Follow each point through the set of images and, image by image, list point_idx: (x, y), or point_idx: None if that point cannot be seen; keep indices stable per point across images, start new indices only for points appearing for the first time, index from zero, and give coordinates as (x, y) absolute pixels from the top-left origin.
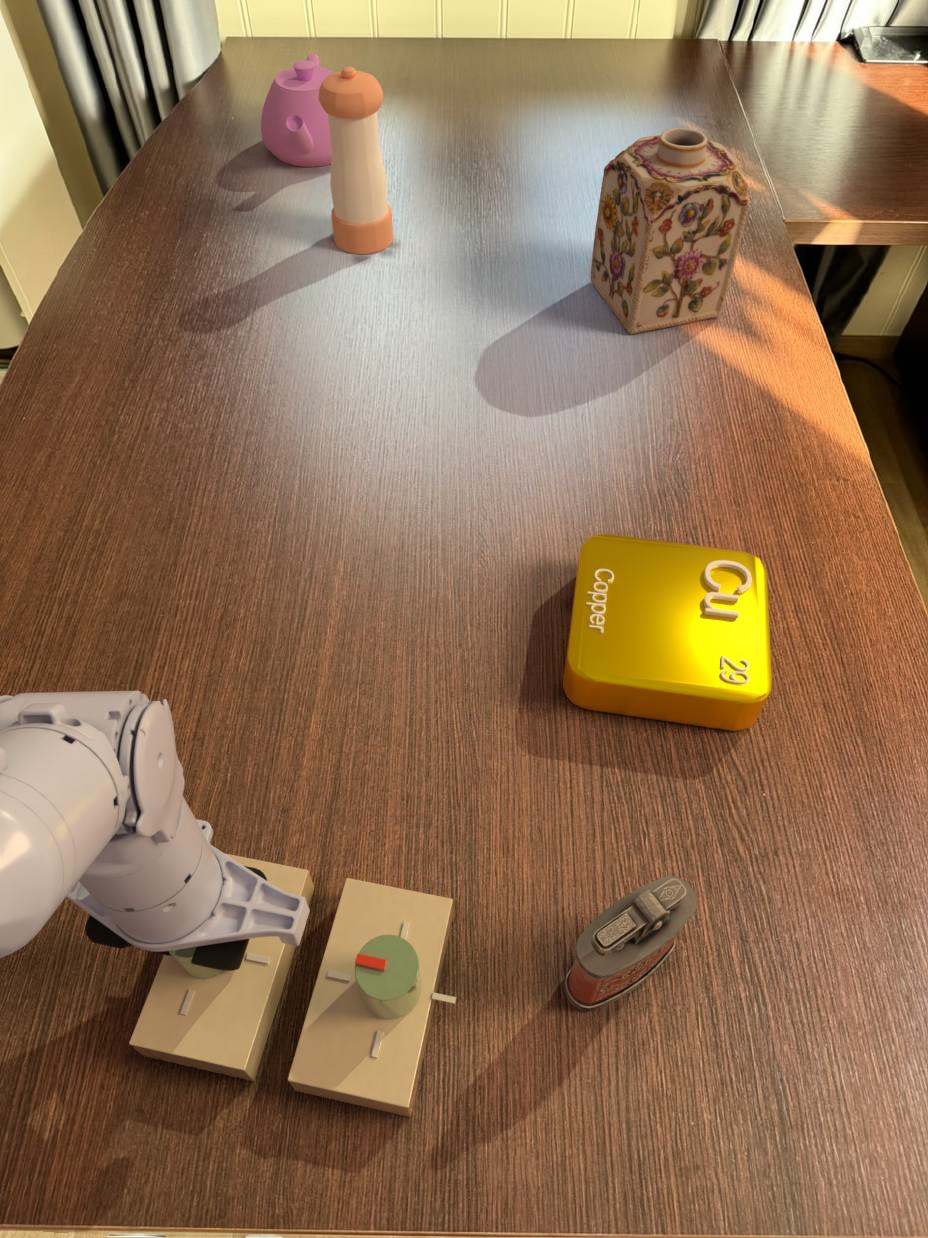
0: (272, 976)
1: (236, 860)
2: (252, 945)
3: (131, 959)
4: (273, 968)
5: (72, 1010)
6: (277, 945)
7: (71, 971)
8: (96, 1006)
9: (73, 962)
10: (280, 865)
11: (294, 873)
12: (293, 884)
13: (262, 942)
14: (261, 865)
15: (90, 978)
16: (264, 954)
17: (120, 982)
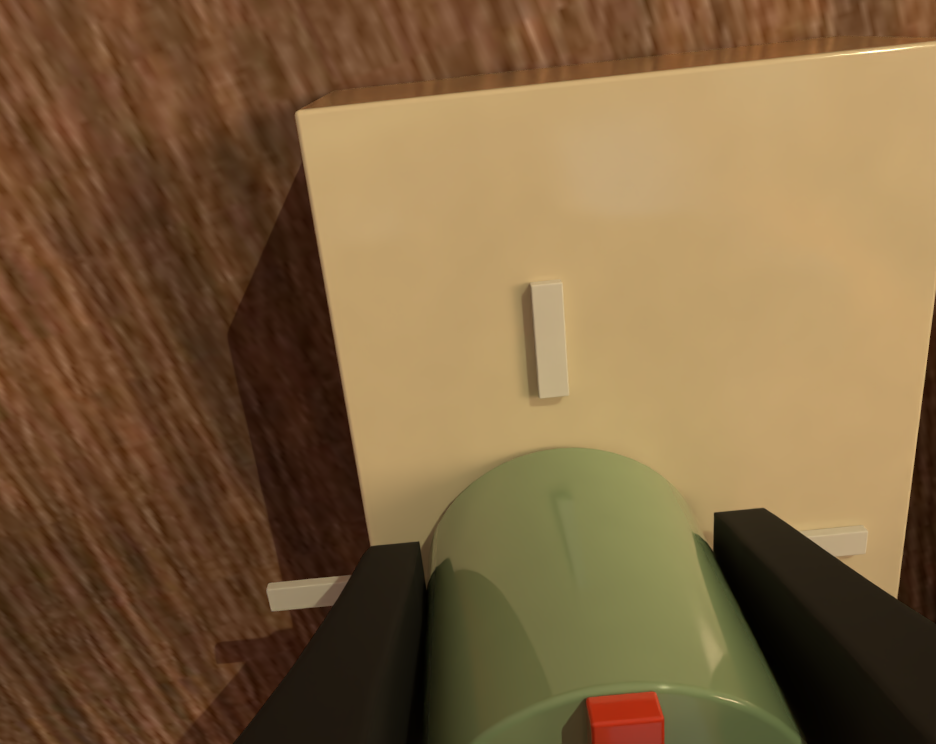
0: (892, 581)
1: (509, 121)
2: (764, 500)
3: (219, 529)
4: (888, 553)
5: (141, 701)
6: (884, 468)
7: (48, 616)
8: (206, 674)
9: (31, 592)
10: (789, 67)
11: (887, 89)
12: (893, 154)
13: (808, 476)
14: (672, 104)
15: (126, 616)
16: (830, 516)
17: (232, 598)
